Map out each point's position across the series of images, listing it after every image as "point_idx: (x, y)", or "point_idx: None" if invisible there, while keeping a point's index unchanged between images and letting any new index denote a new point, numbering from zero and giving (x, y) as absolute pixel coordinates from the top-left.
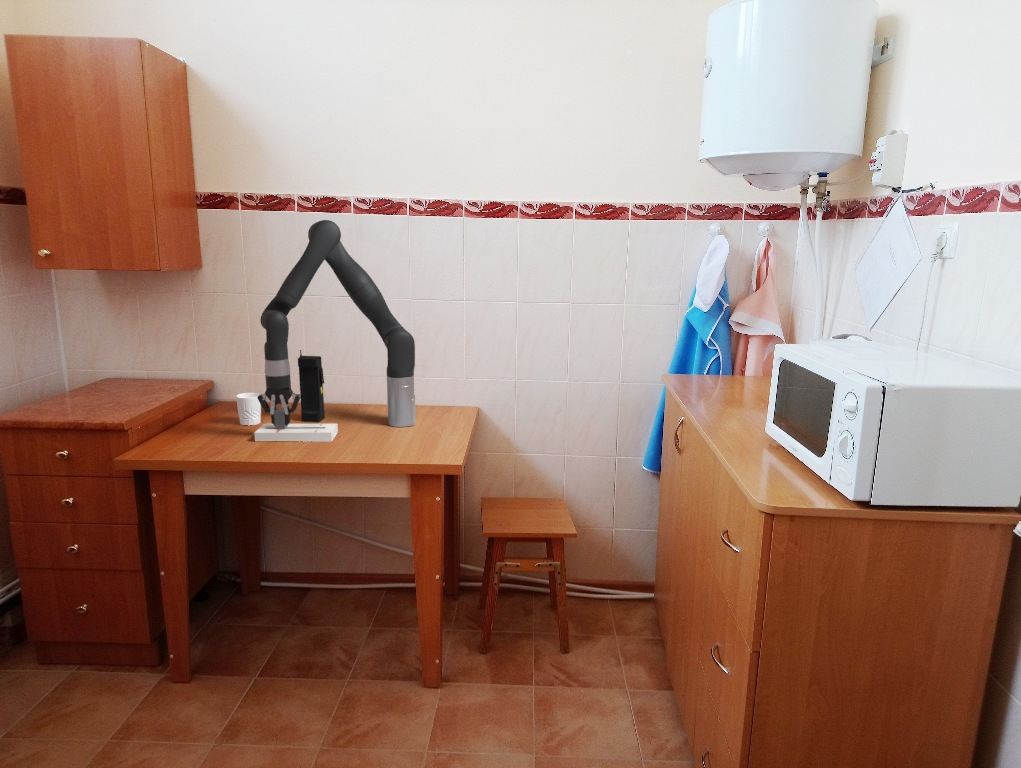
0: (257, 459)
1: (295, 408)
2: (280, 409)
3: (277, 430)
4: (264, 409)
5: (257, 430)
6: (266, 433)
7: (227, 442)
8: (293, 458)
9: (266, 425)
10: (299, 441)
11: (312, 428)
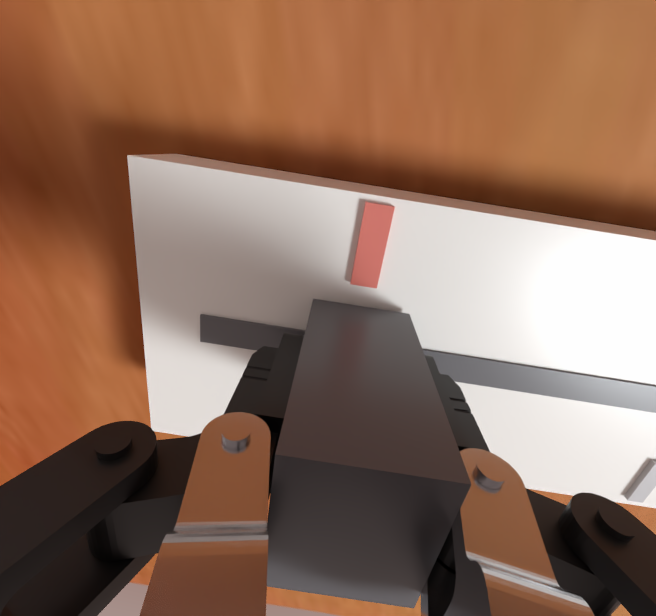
0: (276, 595)
1: (649, 564)
2: (357, 535)
3: None
4: (81, 563)
5: (153, 381)
6: None
7: (9, 363)
8: None
9: (181, 235)
10: None
11: (637, 407)
